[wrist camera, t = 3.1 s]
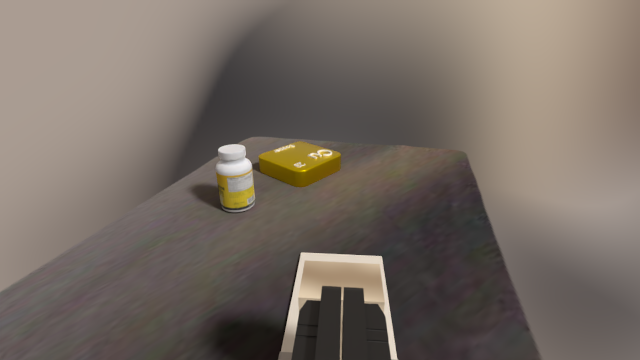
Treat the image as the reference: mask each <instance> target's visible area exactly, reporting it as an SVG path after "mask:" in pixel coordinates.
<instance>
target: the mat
mask: <svg viewBox="0 0 640 360" xmlns="http://www.w3.org/2000/svg"><path fill="white" fill-rule="evenodd" d="M305 260H306V261H327V262H348V263H368V264H380V270H381V277H382V285H383V292H384V299H385V306H384V315H385V317H386V324H387V332H388V340H389V347H390V355H391V360H397V355H396V348H395V341H394V335H393V328H392V321H391V315H390V308H389V301H388V295H387V288H386V282H385V275H384V268H383V262H382V256H364V255H342V254H321V253H301V256H300V260H299V265H298V270H297V275H296V280H295V285H294V290H293V295H292V300H291V305H290V309H289V314H288V319H287V324H286V329H285V334H284V339H283V344H282V349H281V352H280V353H279V358H278V360H291V358H292V352H293V346H294V340H295V334H296V328H297V322H298V316H299V304H298V296H299V290H300V285H301V279H302V274H303V268H304V263H305Z"/></svg>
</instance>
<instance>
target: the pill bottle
mask: <svg viewBox="0 0 640 360" xmlns="http://www.w3.org/2000/svg"><path fill="white" fill-rule="evenodd" d="M218 153H219V158H220V159H221V161H219V162H218V163H217V165H216V175H217V182H218V188H219V195H220V202H221V206H222V208H223V209H224V210H226V211H228V212H243V211H246V210H248V209H250V208H251V207H252V206H253V205H254V204H255V194H254V184H253V173H252V164H251V162H250V161H249V160H248V159H247V158H245V155H246V151H245V147H244V146H242V145H236V144H235V145H234V144H233V145H226V146H223V147H220V148H219V149H218Z"/></svg>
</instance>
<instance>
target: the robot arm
mask: <svg viewBox="0 0 640 360" xmlns="http://www.w3.org/2000/svg"><path fill="white" fill-rule="evenodd" d="M340 330H341V287H336V286H322V291H321V301H317V300H307V301H306V302H305V304H304V305H303V307H302V308H301V309H300V311H299V316H298V322H297V328H296V334H295V340H294V346H293V352H292V358H291V360H340ZM342 360H391V355H390V347H389V340H388V332H387V324H386V317H385V315H384V313H383V311H382V310H381V308H380V307H379V305H378V304H369V303H364V289H363V288H353V287H344V292H343V319H342Z"/></svg>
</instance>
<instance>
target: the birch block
mask: <svg viewBox="0 0 640 360" xmlns="http://www.w3.org/2000/svg"><path fill="white" fill-rule="evenodd" d="M322 286H336V287H341V330H340V360H342V319H343V292H344V287H353V288H363V289H364V303H369V304H378V305H379V307H380V308H381V310H382V311H383V313H384V306H385V299H384V292H383V285H382V277H381V270H380V264H368V263H348V262H327V261H306V260H305V263H304V268H303V274H302V279H301V285H300V290H299V296H298V304H299V311H300V309H301V308H302V307H303V305H304V304H305V302H306V301H307V300H317V301H321V291H322Z"/></svg>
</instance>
